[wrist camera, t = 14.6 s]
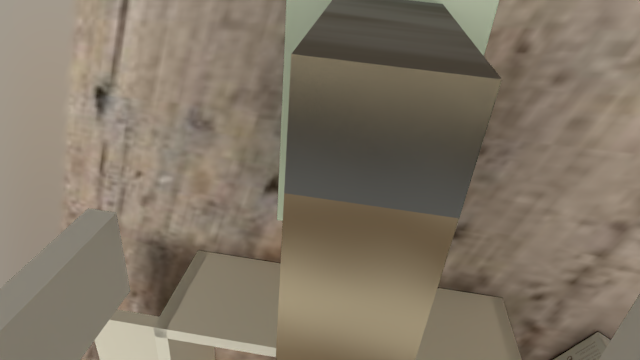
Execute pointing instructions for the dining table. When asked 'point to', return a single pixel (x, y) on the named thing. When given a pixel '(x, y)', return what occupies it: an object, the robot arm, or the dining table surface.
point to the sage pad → (307, 6)
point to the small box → (587, 349)
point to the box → (375, 175)
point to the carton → (262, 317)
